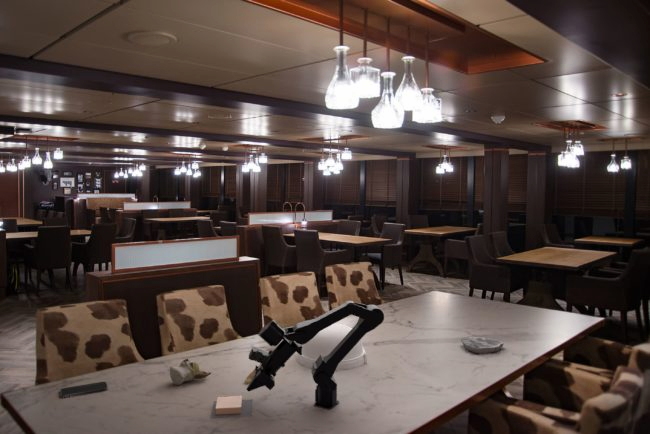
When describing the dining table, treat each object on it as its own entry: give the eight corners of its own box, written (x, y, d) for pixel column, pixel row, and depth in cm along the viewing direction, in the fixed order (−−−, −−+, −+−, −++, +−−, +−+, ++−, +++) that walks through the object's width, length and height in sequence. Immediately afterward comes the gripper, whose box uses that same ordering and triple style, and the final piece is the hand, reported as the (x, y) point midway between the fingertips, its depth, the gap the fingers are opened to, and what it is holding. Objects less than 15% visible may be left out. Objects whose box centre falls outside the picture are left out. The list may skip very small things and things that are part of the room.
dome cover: (282, 364, 208) (282, 331, 207) (311, 344, 235) (311, 315, 235) (355, 375, 196) (355, 339, 195) (377, 353, 223) (377, 321, 223)
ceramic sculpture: (162, 359, 187) (196, 352, 198) (161, 382, 187) (195, 374, 198) (179, 366, 180) (213, 358, 191) (177, 390, 180) (211, 380, 191)
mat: (252, 400, 171) (252, 399, 171) (252, 416, 158) (252, 415, 158) (214, 402, 170) (214, 401, 170) (210, 419, 157) (210, 418, 157)
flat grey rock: (479, 340, 243) (479, 334, 243) (509, 350, 229) (509, 343, 228) (451, 347, 232) (451, 340, 232) (480, 357, 218) (480, 350, 218)
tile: (242, 395, 169) (217, 397, 168) (241, 407, 160) (215, 408, 159) (242, 402, 169) (217, 403, 168) (241, 413, 160) (215, 415, 159)
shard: (254, 372, 199) (254, 367, 199) (277, 374, 197) (277, 369, 197) (243, 385, 186) (243, 379, 186) (267, 387, 184) (267, 381, 184)
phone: (107, 388, 179) (60, 396, 172) (107, 391, 179) (60, 399, 172) (105, 381, 186) (60, 388, 179) (105, 384, 186) (60, 391, 179)
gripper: (262, 331, 174) (231, 364, 173) (263, 347, 155) (227, 385, 154) (285, 352, 175) (254, 385, 174) (289, 371, 156) (254, 408, 156)
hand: (247, 390), depth 164 cm, fingers closed
